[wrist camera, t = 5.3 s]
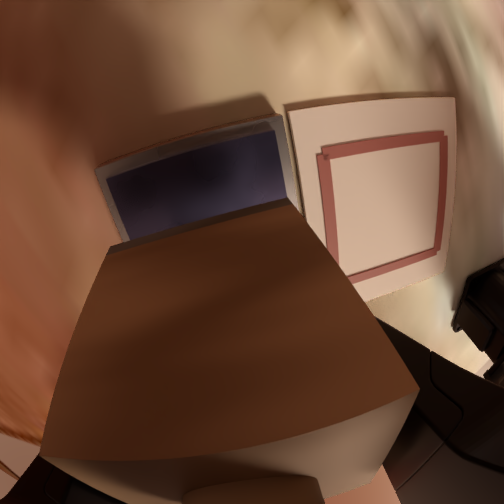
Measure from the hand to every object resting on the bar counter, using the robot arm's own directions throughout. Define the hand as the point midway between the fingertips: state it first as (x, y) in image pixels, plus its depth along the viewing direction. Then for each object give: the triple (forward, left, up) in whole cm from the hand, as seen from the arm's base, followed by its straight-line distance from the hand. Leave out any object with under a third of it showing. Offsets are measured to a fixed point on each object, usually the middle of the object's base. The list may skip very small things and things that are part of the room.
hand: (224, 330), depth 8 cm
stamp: (0, 0, -2) cm, 2 cm away
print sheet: (-9, +2, -7) cm, 12 cm away
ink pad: (0, 0, -7) cm, 7 cm away
